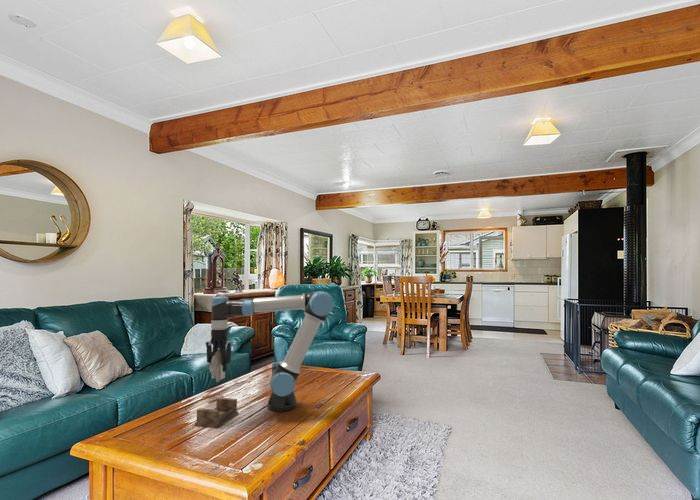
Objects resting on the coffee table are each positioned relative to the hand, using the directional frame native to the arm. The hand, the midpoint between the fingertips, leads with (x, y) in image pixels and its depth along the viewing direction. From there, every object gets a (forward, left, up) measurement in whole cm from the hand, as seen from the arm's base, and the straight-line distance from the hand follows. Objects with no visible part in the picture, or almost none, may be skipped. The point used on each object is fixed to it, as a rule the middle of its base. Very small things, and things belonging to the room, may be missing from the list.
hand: (218, 377), depth 182 cm
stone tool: (0, 0, -2) cm, 2 cm away
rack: (0, 0, -19) cm, 19 cm away
